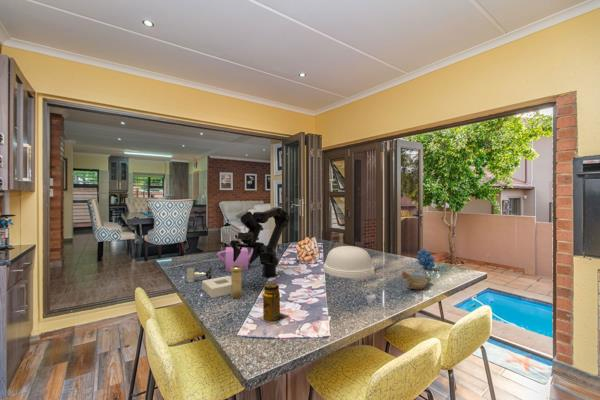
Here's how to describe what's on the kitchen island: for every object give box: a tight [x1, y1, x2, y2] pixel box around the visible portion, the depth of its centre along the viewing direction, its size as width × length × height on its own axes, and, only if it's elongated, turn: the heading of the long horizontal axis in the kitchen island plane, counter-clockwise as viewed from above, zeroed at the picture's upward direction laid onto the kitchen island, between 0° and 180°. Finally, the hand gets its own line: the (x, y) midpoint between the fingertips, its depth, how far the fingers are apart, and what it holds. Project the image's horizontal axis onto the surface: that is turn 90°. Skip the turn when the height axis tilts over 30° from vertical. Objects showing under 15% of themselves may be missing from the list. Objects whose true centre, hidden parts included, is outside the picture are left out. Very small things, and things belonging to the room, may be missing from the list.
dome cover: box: [323, 245, 376, 279], centre depth 162 cm, size 32×30×14 cm
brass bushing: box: [230, 266, 243, 299], centre depth 120 cm, size 5×5×13 cm
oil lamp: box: [401, 270, 432, 290], centre depth 132 cm, size 9×21×10 cm, turn 123°
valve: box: [186, 267, 212, 283], centre depth 143 cm, size 7×7×12 cm
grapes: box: [416, 248, 436, 271], centre depth 164 cm, size 12×7×12 cm, turn 32°
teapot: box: [216, 246, 253, 273], centre depth 168 cm, size 15×25×14 cm, turn 105°
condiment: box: [258, 283, 289, 325], centre depth 100 cm, size 7×8×12 cm
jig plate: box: [201, 275, 231, 299], centre depth 128 cm, size 14×14×4 cm
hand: (241, 262), depth 129 cm, fingers open, 9 cm apart
